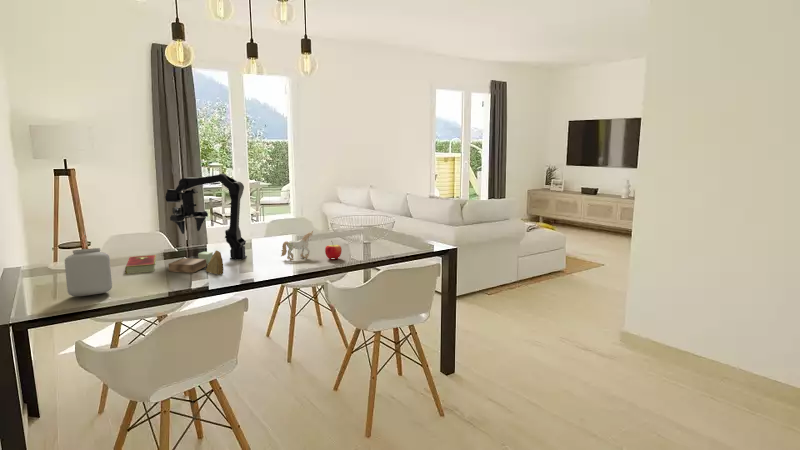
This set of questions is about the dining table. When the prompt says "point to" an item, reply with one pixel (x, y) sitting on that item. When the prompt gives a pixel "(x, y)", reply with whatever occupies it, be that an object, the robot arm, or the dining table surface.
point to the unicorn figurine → (297, 246)
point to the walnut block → (187, 265)
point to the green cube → (205, 256)
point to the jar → (88, 272)
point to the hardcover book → (140, 264)
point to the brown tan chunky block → (215, 264)
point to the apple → (333, 251)
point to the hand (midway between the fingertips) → (190, 232)
